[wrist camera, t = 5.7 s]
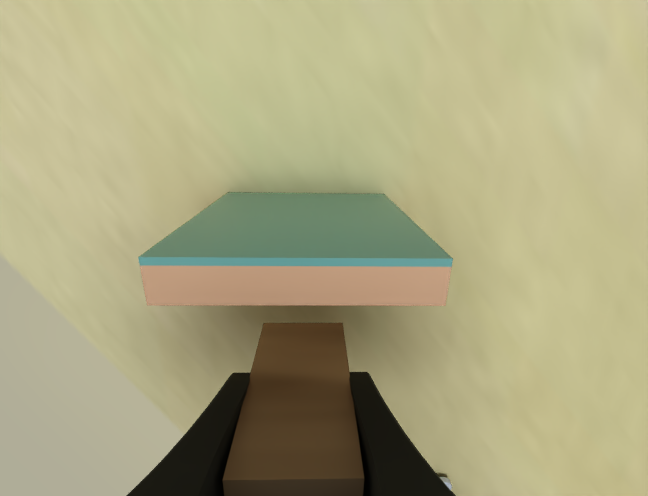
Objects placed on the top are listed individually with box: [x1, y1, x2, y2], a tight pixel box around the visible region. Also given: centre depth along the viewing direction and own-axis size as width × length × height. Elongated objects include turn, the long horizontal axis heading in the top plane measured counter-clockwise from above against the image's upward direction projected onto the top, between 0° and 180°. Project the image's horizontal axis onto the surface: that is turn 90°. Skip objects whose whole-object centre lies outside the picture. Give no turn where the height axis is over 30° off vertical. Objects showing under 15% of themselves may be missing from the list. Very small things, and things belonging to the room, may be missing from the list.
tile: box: [138, 192, 453, 306], centre depth 11 cm, size 1×7×8 cm, turn 90°
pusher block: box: [222, 323, 364, 496], centre depth 10 cm, size 3×3×6 cm
